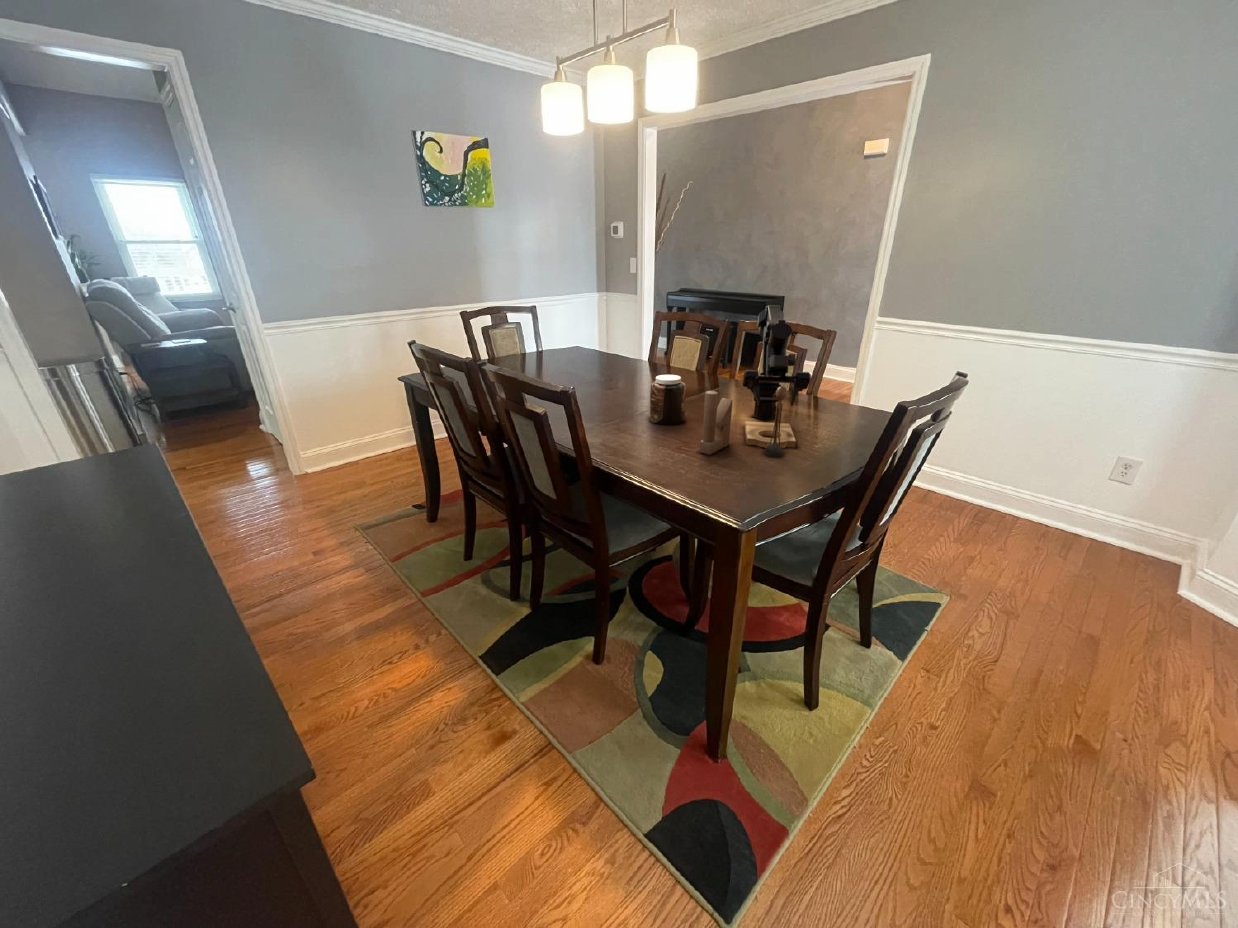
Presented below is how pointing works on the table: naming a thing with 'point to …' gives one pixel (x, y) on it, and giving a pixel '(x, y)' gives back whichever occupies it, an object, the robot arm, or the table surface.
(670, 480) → the table surface
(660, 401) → the jar
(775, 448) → the wooden tabletop sculpture
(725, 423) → the beige post stand
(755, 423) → the wooden board with hole
